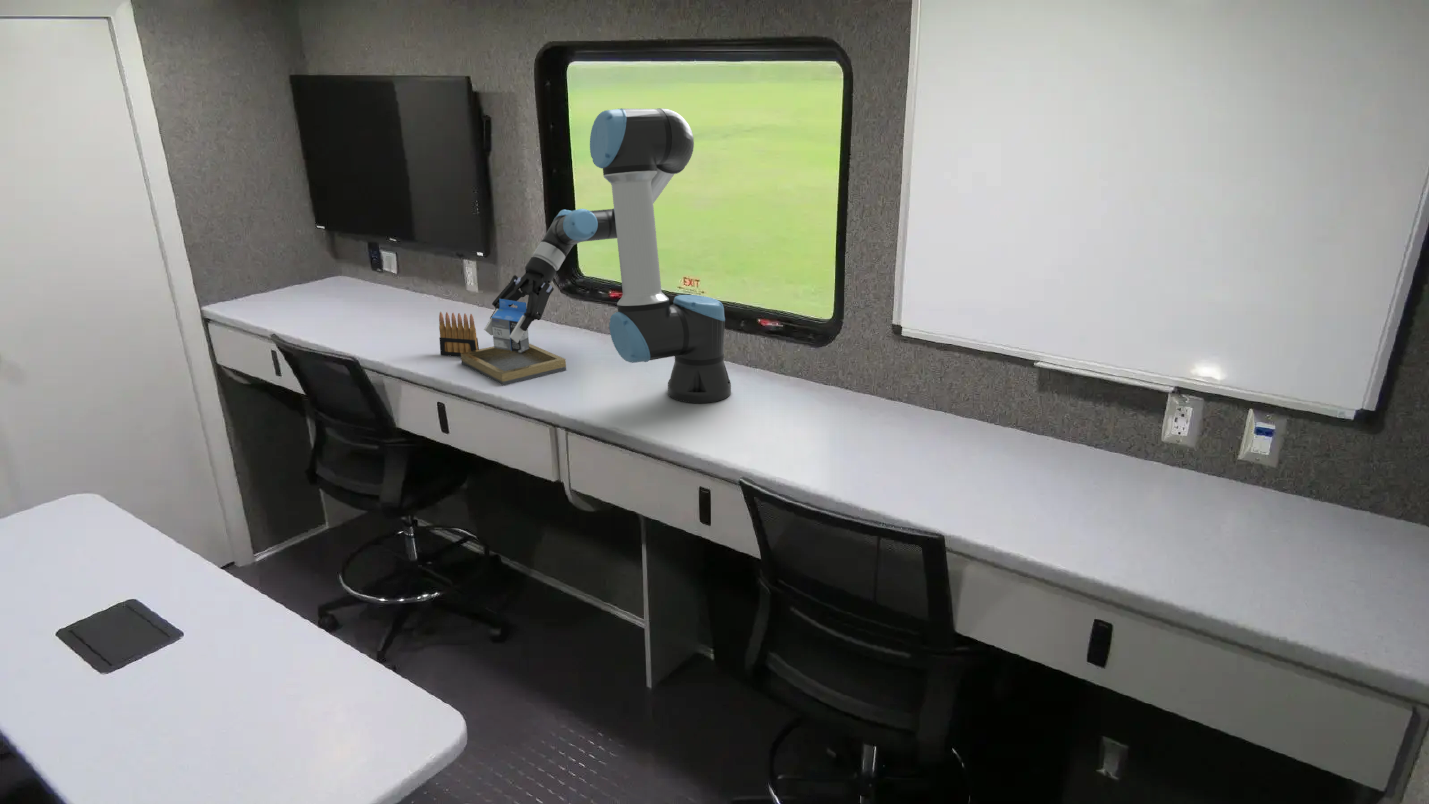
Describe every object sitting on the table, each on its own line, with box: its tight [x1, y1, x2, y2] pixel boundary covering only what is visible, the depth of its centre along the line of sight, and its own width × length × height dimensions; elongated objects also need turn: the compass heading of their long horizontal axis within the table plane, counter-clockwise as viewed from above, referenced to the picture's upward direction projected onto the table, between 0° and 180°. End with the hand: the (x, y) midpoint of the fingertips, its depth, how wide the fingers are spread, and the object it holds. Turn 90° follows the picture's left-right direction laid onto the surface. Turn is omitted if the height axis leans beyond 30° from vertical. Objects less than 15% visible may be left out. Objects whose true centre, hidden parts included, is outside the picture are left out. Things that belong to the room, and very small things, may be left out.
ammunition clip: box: [438, 311, 480, 358], centre depth 228 cm, size 11×2×12 cm, turn 78°
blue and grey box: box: [490, 299, 530, 353], centre depth 217 cm, size 9×4×12 cm, turn 64°
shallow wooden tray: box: [460, 343, 567, 386], centre depth 220 cm, size 22×18×3 cm
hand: (500, 336), depth 216 cm, fingers closed on blue and grey box, 9 cm apart
